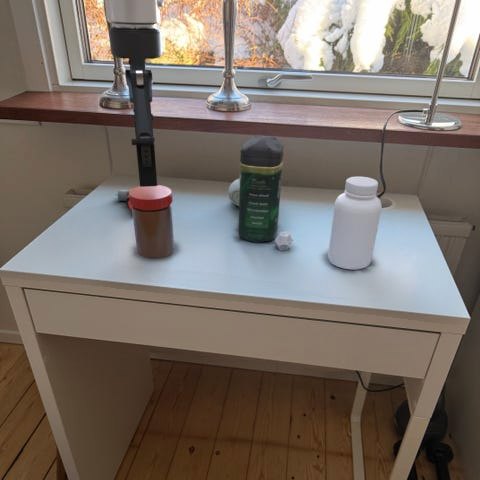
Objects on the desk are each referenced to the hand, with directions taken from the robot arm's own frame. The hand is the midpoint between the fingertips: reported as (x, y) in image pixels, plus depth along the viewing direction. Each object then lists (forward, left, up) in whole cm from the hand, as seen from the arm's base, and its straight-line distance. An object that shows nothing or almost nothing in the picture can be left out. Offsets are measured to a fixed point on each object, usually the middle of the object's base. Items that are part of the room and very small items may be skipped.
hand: (146, 172), depth 80 cm
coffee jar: (+21, +4, -15) cm, 26 cm away
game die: (+25, -3, -15) cm, 29 cm away
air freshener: (+23, +19, -15) cm, 34 cm away
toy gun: (-3, +22, -15) cm, 27 cm away
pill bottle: (+35, -10, -15) cm, 40 cm away
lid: (0, 0, -4) cm, 4 cm away
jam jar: (0, 0, -15) cm, 15 cm away
